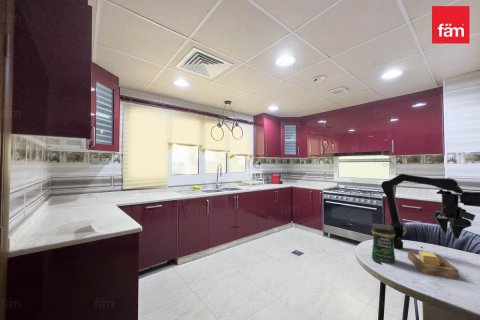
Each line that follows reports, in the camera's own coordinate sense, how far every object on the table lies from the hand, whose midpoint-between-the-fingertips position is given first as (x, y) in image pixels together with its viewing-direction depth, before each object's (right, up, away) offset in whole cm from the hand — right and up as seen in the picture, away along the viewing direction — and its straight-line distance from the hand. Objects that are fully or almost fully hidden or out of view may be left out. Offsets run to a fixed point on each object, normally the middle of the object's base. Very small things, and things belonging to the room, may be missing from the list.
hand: (450, 235), depth 99 cm
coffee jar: (-32, -14, +2) cm, 35 cm away
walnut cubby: (-16, -14, -6) cm, 22 cm away
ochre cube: (-15, -13, -4) cm, 20 cm away
